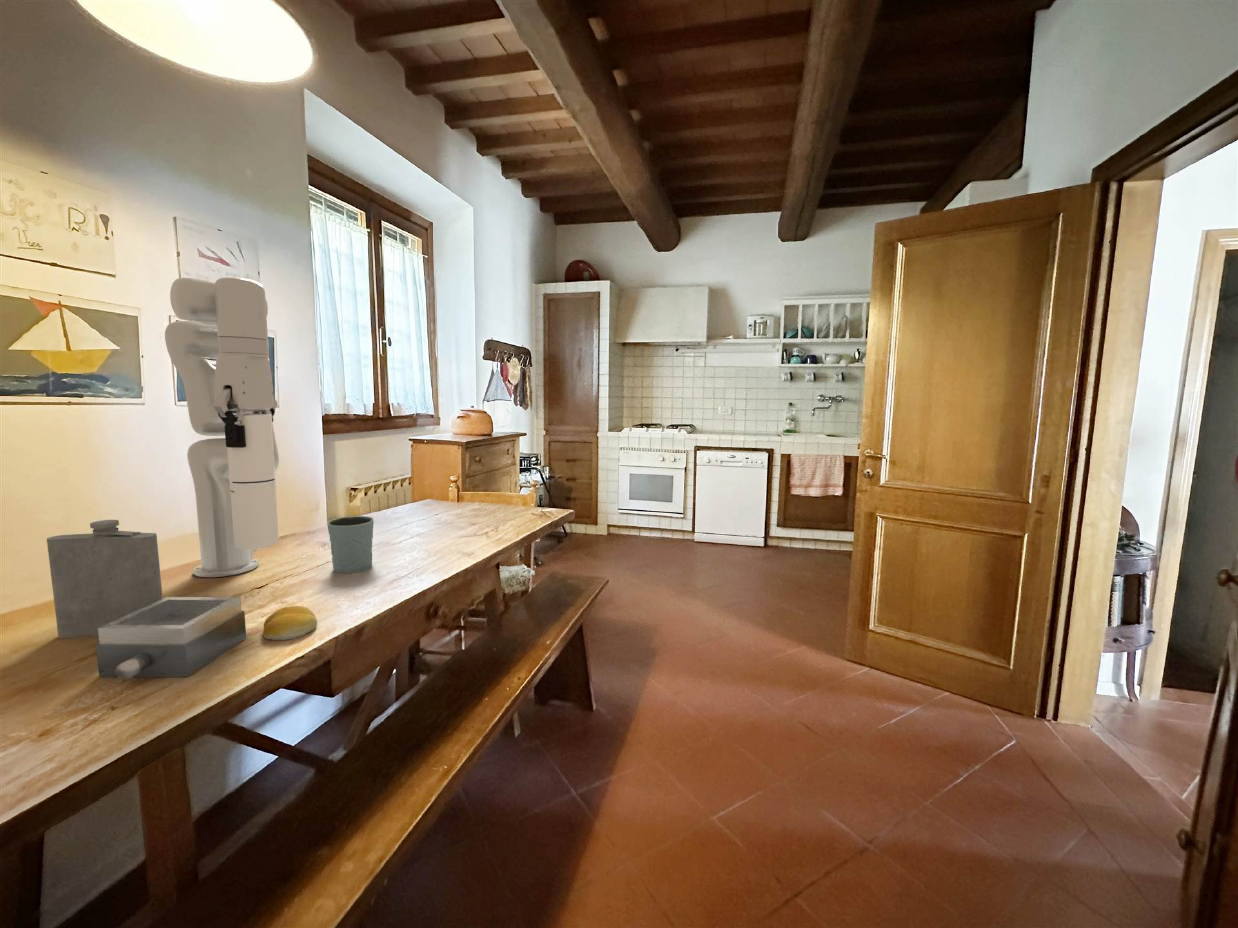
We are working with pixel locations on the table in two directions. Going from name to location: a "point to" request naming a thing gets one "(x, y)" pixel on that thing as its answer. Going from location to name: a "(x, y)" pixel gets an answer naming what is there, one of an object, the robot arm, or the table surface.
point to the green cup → (351, 543)
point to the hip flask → (102, 577)
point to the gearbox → (170, 637)
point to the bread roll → (289, 623)
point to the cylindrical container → (254, 486)
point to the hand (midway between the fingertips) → (250, 444)
